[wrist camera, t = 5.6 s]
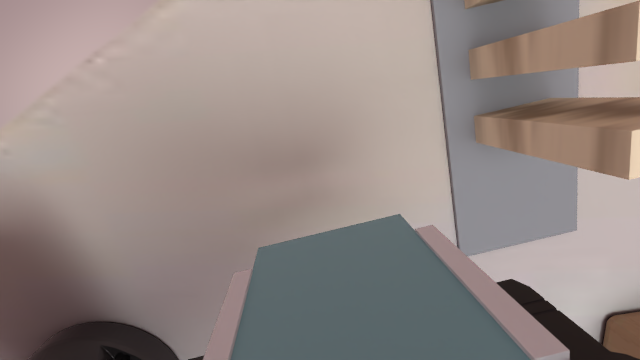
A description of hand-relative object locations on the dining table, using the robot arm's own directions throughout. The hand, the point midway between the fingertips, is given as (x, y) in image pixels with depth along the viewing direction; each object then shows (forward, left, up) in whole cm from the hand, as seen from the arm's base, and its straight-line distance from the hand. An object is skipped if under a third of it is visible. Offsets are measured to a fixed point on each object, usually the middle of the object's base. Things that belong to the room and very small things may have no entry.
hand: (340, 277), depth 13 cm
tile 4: (+18, +2, -15) cm, 23 cm away
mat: (+18, +5, -15) cm, 24 cm away
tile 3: (+18, +7, -15) cm, 24 cm away
